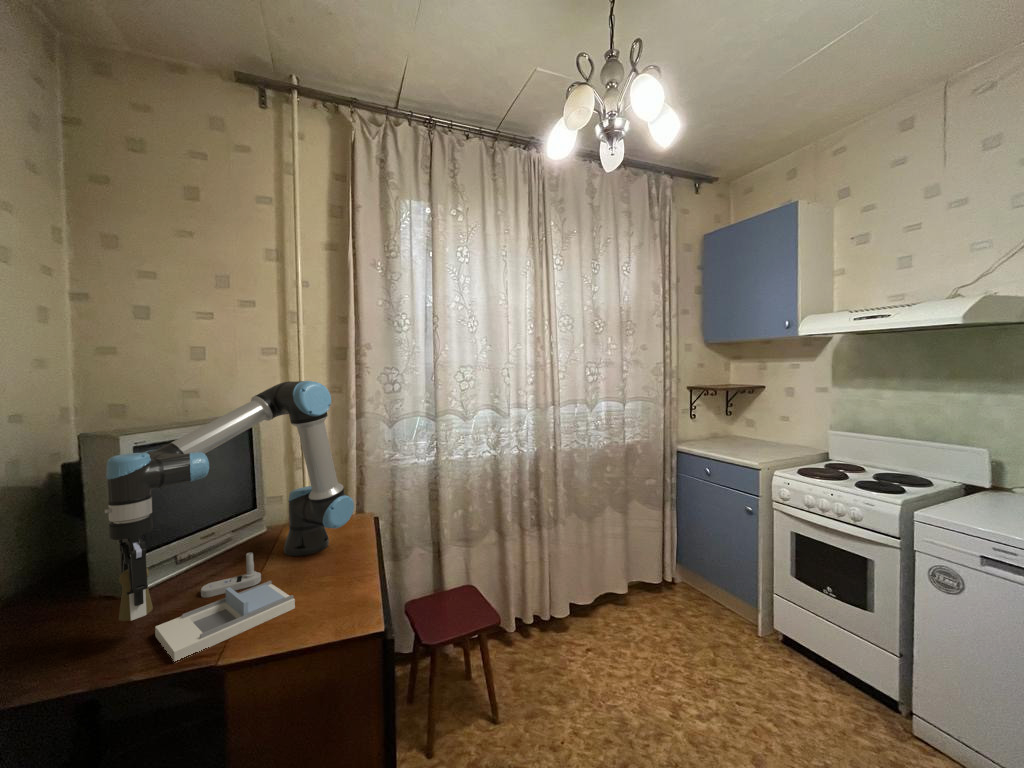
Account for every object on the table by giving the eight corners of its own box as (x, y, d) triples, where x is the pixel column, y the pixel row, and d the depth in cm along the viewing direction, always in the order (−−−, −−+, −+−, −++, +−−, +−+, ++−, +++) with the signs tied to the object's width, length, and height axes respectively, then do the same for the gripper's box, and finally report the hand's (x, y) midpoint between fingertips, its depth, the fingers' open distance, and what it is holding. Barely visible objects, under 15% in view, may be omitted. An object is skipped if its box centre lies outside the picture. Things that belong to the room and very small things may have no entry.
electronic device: (201, 561, 117) (260, 548, 125) (202, 593, 117) (261, 578, 125) (197, 568, 113) (259, 554, 120) (199, 601, 113) (260, 585, 121)
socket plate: (269, 590, 117) (269, 579, 117) (294, 608, 108) (294, 596, 108) (155, 636, 96) (155, 623, 96) (174, 663, 87) (174, 648, 87)
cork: (133, 606, 97) (131, 563, 97) (159, 604, 98) (157, 561, 97) (111, 622, 91) (108, 576, 91) (138, 620, 92) (136, 574, 91)
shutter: (265, 586, 115) (265, 573, 115) (285, 599, 108) (284, 586, 108) (225, 601, 107) (225, 588, 107) (243, 617, 100) (243, 603, 100)
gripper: (101, 515, 96) (105, 607, 97) (117, 532, 85) (122, 635, 86) (142, 506, 102) (146, 592, 103) (162, 521, 91) (166, 618, 92)
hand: (135, 612), depth 94 cm, fingers closed on cork, 6 cm apart
